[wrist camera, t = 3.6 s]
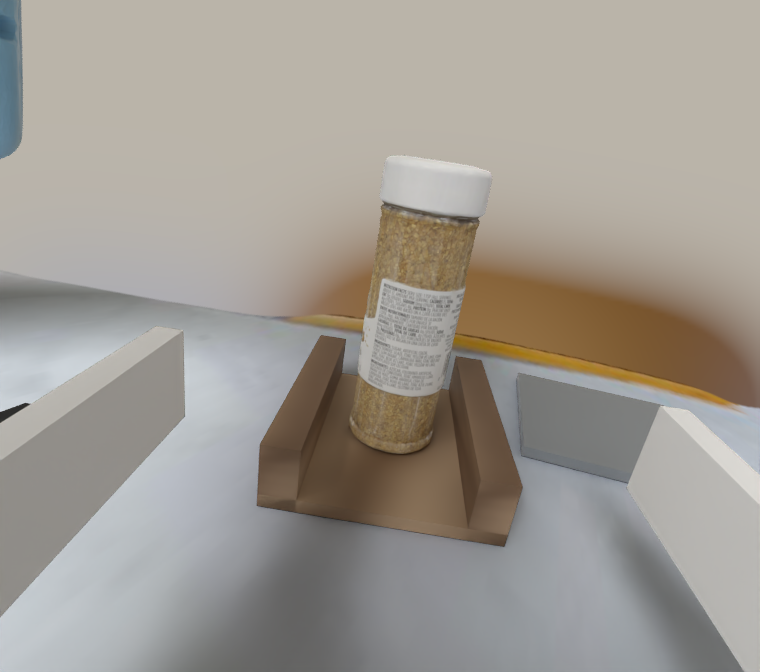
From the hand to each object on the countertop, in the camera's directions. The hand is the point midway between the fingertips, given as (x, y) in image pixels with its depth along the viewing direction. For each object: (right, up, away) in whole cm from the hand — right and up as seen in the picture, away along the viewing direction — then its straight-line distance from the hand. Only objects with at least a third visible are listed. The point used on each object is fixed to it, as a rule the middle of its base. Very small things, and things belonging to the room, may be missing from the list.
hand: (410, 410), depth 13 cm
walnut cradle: (0, -4, +12) cm, 12 cm away
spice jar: (0, -3, +11) cm, 12 cm away
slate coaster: (+13, -4, +16) cm, 21 cm away
